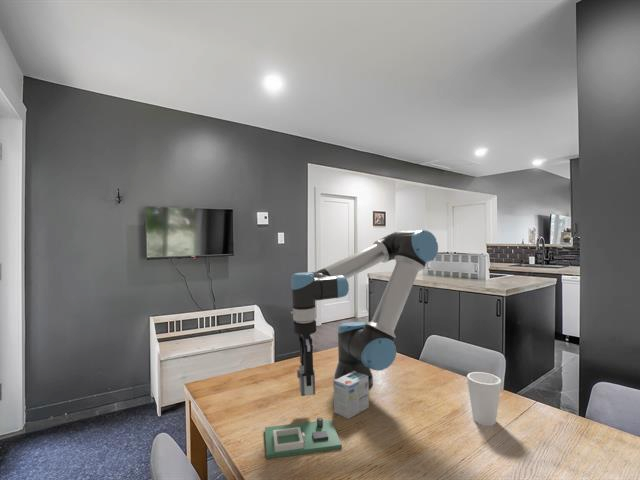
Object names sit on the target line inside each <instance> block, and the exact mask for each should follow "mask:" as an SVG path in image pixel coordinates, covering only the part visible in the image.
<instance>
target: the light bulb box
mask: <svg viewBox="0 0 640 480" xmlns="http://www.w3.org/2000/svg"><path fill="white" fill-rule="evenodd" d="M369 387H370V386H369V384H368V376H367V375H364V374H361V373H358V372H356V371H353V372H351V373H349V374H347V375H344V376H342V377H340V378H338V379H335V380H334V379H333V405H334V409H333V411H334V413H335V414H337V415H339V416H342V417H344V418H345V419H348V420H349V419H351V418H353V417H354V416H356V415H358V414H359V413H361V412H363V411H365V410H367V409H368V408H369V407H370V402H369V401H370V400H369V399H370V398H369V397H370V395H369V389H370V388H369Z"/></svg>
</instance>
